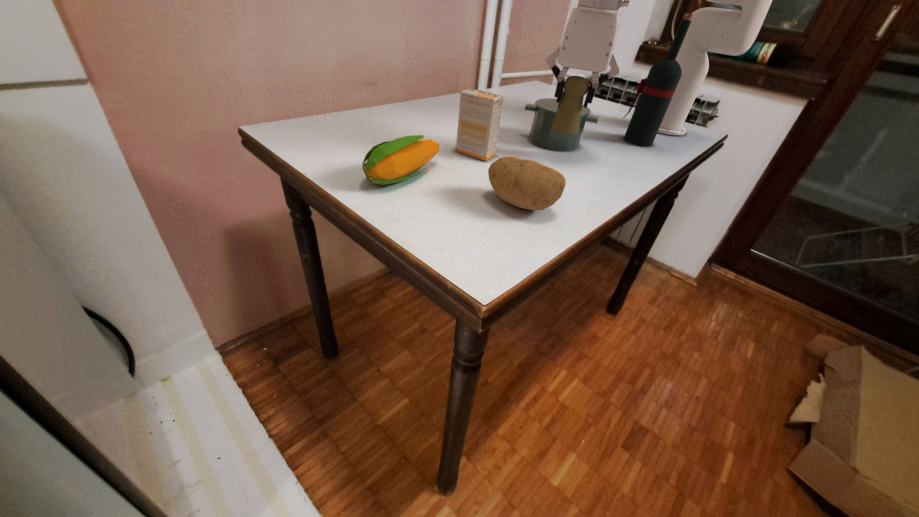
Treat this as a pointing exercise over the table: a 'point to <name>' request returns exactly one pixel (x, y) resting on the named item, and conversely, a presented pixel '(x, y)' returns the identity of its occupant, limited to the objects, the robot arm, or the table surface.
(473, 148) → the supplement box
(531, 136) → the pot
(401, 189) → the table surface
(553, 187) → the potato
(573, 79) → the cork
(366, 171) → the corn
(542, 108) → the pot lid
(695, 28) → the robot arm
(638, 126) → the wine bottle
